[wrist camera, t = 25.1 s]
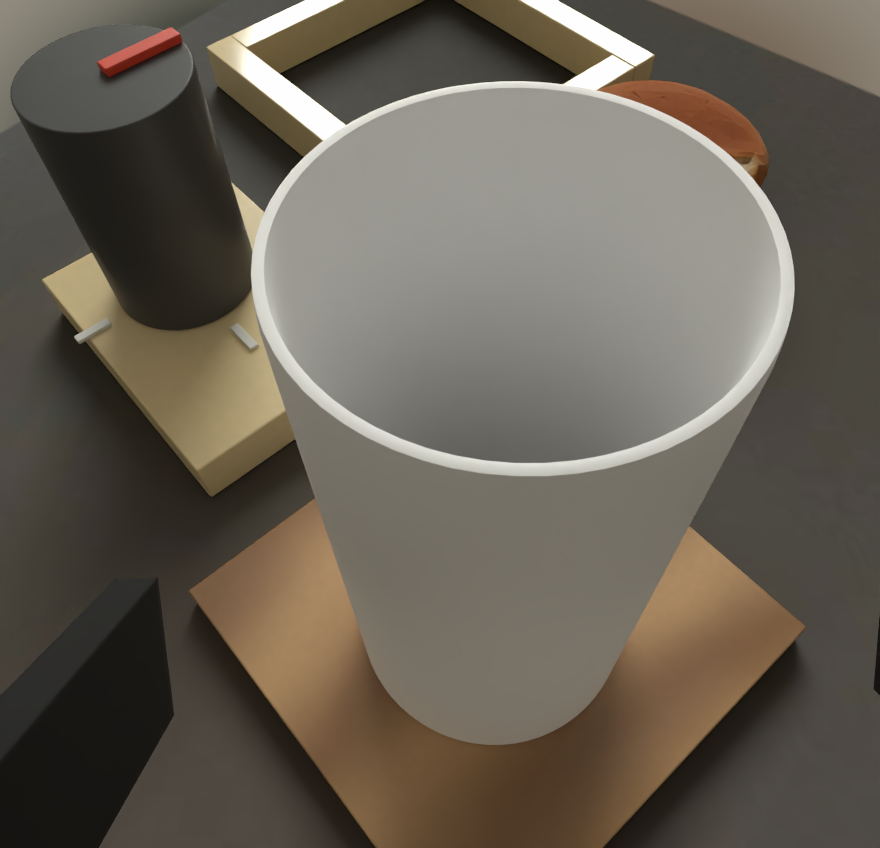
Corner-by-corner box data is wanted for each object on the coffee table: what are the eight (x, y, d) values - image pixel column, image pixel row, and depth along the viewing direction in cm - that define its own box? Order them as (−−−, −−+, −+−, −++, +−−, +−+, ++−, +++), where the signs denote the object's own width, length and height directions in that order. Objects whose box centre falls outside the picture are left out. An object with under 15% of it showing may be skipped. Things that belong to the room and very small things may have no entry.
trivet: (796, 637, 26) (807, 627, 25) (475, 982, 21) (475, 984, 20) (498, 376, 32) (499, 361, 31) (195, 601, 27) (187, 590, 26)
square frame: (647, 94, 41) (655, 54, 40) (408, 245, 36) (405, 207, 34) (443, -27, 48) (442, -66, 46) (216, 85, 43) (205, 46, 41)
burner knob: (163, 355, 30) (59, 150, 22) (91, 275, 33) (-27, 65, 25) (283, 279, 32) (226, 66, 24) (207, 208, 35) (132, -6, 27)
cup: (668, 585, 26) (886, 200, 13) (524, 807, 22) (612, 606, 9) (463, 454, 29) (462, 27, 15) (308, 634, 25) (132, 286, 12)
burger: (559, 129, 40) (569, 41, 36) (751, 157, 39) (784, 69, 35) (519, 272, 35) (526, 188, 31) (738, 310, 33) (775, 227, 30)
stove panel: (410, 360, 32) (406, 326, 31) (202, 505, 29) (184, 476, 27) (235, 198, 38) (223, 161, 36) (43, 304, 35) (20, 269, 33)
